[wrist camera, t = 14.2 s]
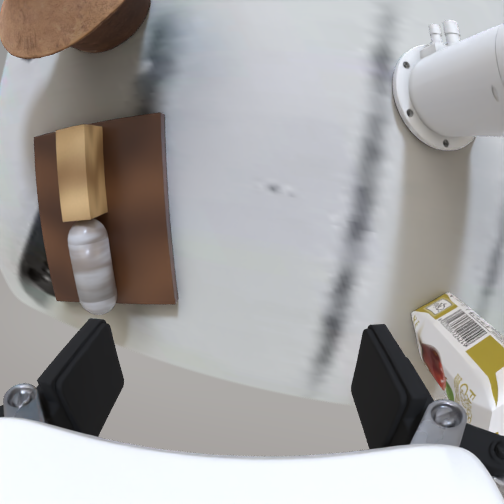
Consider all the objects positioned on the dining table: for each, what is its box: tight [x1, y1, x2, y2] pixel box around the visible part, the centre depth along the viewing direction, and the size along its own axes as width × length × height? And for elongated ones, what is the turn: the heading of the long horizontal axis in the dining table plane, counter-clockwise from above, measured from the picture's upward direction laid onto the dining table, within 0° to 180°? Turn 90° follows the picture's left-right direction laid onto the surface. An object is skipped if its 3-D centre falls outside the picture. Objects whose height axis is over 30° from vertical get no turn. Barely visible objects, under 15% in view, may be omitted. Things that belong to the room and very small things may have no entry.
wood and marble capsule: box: [56, 124, 117, 315], centre depth 29 cm, size 20×4×4 cm, turn 2°
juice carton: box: [411, 292, 504, 436], centre depth 27 cm, size 8×9×19 cm
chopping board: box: [34, 113, 178, 304], centre depth 31 cm, size 20×16×2 cm
